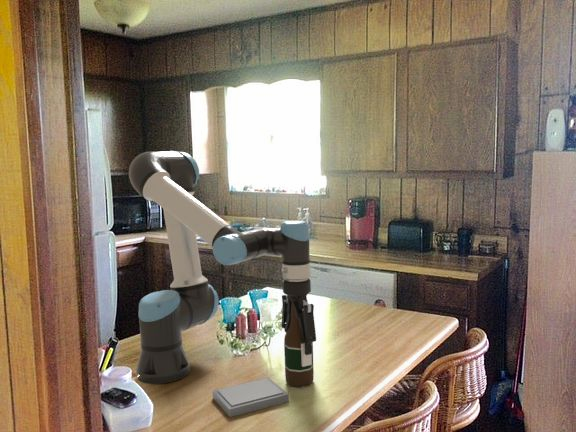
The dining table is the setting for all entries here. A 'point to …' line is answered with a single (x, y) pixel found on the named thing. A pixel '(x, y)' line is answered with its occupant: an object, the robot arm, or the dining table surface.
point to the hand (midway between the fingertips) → (299, 360)
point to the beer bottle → (296, 355)
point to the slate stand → (250, 396)
